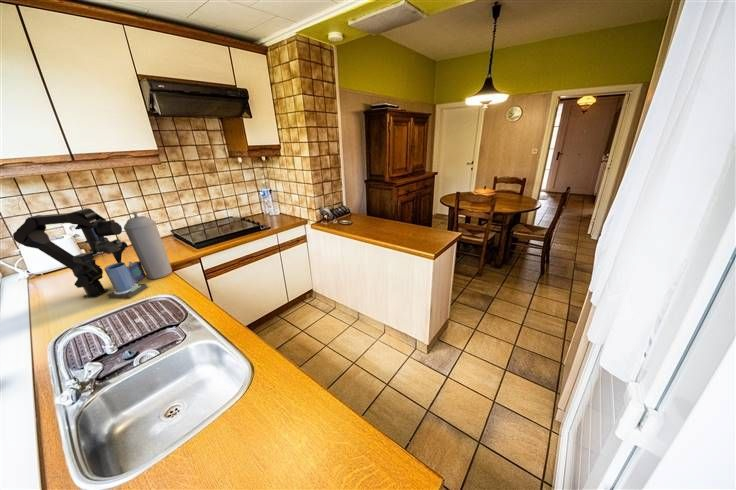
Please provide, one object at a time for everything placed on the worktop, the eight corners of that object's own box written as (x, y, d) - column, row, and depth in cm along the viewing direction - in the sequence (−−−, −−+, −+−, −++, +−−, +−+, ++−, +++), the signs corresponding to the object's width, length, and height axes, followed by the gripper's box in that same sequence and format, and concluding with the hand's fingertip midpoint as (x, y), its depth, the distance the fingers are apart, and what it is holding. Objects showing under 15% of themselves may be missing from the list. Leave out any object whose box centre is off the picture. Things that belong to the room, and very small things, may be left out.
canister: (180, 269, 148) (157, 208, 134) (159, 281, 136) (132, 216, 123) (161, 268, 150) (137, 208, 137) (139, 280, 139) (110, 216, 125)
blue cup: (111, 292, 124) (99, 269, 119) (125, 284, 130) (115, 262, 126) (125, 292, 123) (114, 269, 118) (139, 284, 130) (128, 262, 125)
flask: (133, 284, 135) (124, 265, 131) (128, 284, 135) (119, 266, 131) (147, 275, 143) (139, 257, 139) (142, 275, 144) (134, 258, 139)
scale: (109, 298, 124) (106, 293, 123) (127, 287, 133) (125, 282, 132) (130, 298, 123) (127, 293, 122) (147, 287, 132) (145, 282, 130)
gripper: (84, 244, 108) (100, 278, 114) (130, 230, 125) (142, 260, 131) (64, 244, 111) (81, 277, 116) (111, 230, 128) (125, 260, 133)
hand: (109, 268), depth 124 cm, fingers open, 9 cm apart
